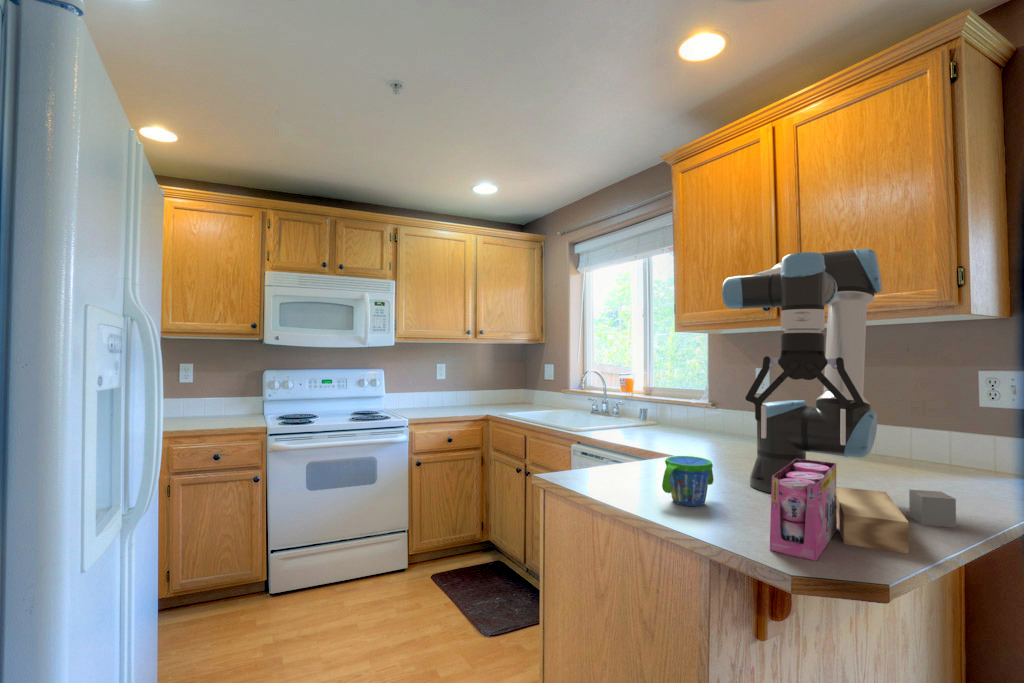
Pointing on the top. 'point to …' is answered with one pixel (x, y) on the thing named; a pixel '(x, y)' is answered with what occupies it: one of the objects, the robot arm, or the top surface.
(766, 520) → the top surface
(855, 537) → the oak block
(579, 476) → the top surface
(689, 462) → the snack cup
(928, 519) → the grey block
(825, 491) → the gum box
